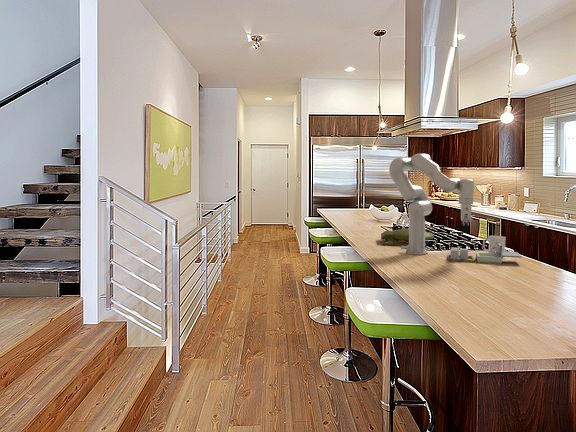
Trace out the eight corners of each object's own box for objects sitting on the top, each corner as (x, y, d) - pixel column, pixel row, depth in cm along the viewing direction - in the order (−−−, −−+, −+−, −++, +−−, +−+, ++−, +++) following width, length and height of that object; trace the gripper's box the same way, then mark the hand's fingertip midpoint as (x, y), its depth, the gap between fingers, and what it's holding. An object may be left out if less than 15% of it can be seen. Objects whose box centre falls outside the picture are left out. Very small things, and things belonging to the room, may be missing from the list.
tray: (448, 261, 272) (448, 258, 271) (447, 256, 284) (447, 254, 283) (474, 262, 268) (475, 260, 268) (472, 258, 280) (472, 255, 280)
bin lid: (497, 256, 265) (497, 246, 264) (494, 252, 276) (494, 242, 275) (521, 257, 261) (522, 247, 261) (517, 253, 273) (518, 243, 272)
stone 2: (450, 260, 272) (451, 250, 272) (450, 259, 276) (450, 249, 276) (458, 261, 271) (458, 250, 271) (457, 259, 275) (458, 249, 274)
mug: (503, 254, 290) (504, 236, 289) (505, 257, 282) (506, 238, 281) (481, 253, 293) (482, 235, 292) (483, 256, 285) (484, 237, 284)
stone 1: (450, 258, 278) (450, 248, 277) (451, 257, 282) (451, 247, 281) (457, 259, 276) (458, 249, 276) (458, 258, 280) (458, 247, 279)
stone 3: (460, 260, 274) (460, 249, 273) (459, 258, 278) (459, 248, 277) (467, 260, 273) (468, 250, 272) (467, 259, 277) (467, 248, 276)
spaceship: (381, 246, 321) (381, 231, 320) (380, 238, 351) (381, 225, 350) (436, 247, 315) (436, 232, 313) (431, 240, 345) (431, 226, 344)
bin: (477, 262, 268) (478, 256, 267) (475, 258, 279) (475, 252, 279) (501, 263, 264) (501, 257, 264) (498, 259, 276) (498, 253, 275)
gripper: (474, 202, 262) (473, 234, 264) (471, 200, 279) (470, 229, 281) (459, 202, 264) (458, 233, 266) (457, 199, 281) (456, 229, 283)
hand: (464, 231), depth 273 cm, fingers open, 9 cm apart
